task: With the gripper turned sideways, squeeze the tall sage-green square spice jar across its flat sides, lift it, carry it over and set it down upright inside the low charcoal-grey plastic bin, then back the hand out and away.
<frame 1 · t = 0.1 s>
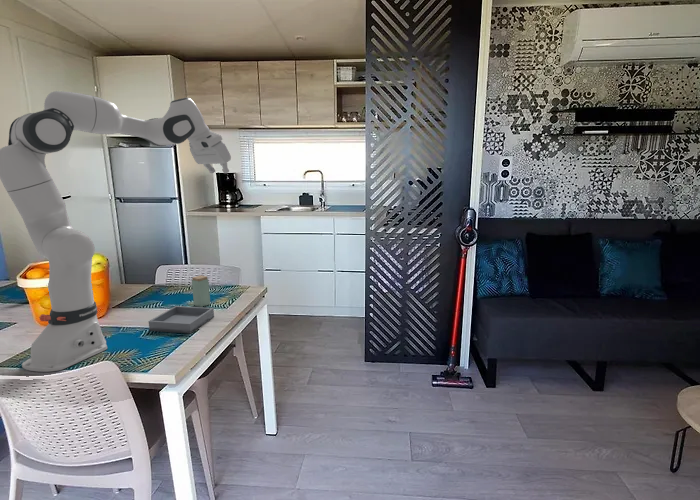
hand: (219, 172, 160), 54 cm above the table, tool tilted 30°, fingers open, 8 cm apart
candy bar: (67, 289, 192), on the table
spice jar: (202, 304, 168), on the table
bin: (183, 323, 148), on the table
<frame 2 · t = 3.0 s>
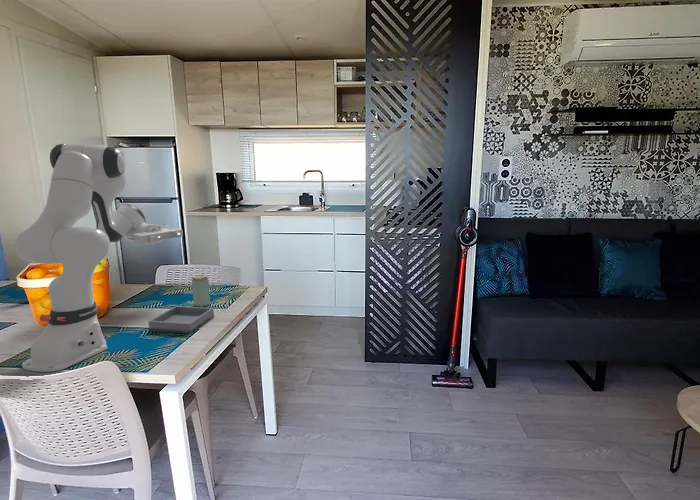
hand: (169, 237, 166), 28 cm above the table, tool horizontal, fingers open, 8 cm apart
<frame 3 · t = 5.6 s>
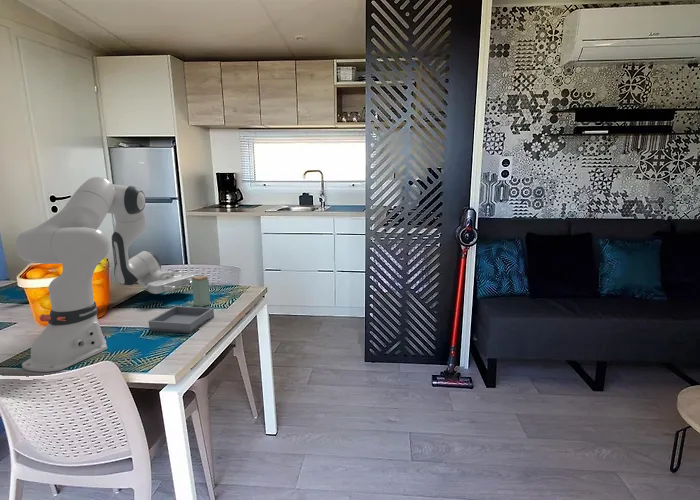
hand: (183, 286, 172), 6 cm above the table, tool horizontal, fingers open, 8 cm apart
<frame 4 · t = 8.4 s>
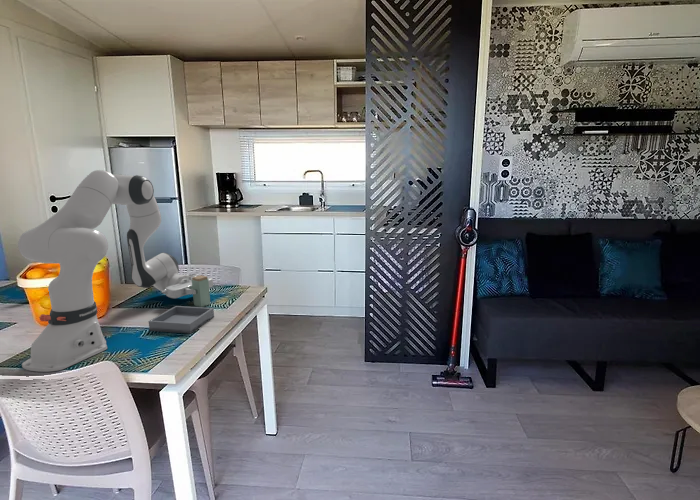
hand: (202, 290, 166), 7 cm above the table, tool horizontal, fingers closed on spice jar, 5 cm apart
spice jar: (202, 304, 168), on the table, touching gripper
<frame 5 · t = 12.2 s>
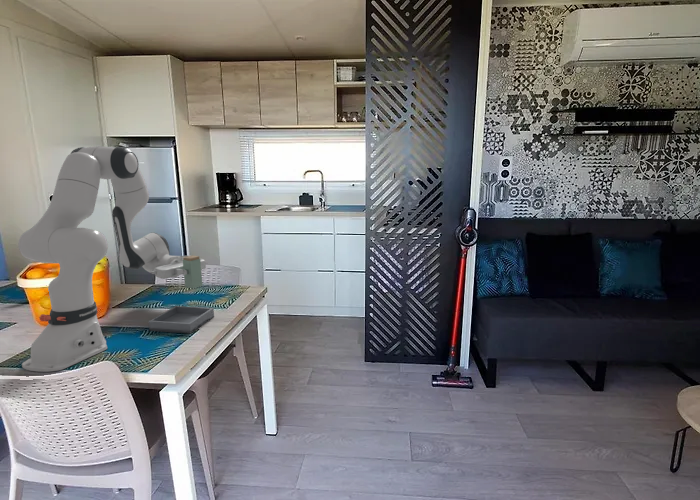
hand: (193, 270, 157), 17 cm above the table, tool horizontal, fingers closed on spice jar, 5 cm apart
spice jar: (193, 286, 159), point 10 cm above the table, touching gripper
when the fingers open (9 cm above the table, at t = 16.1 s): spice jar drops 1 cm, resting on bin.
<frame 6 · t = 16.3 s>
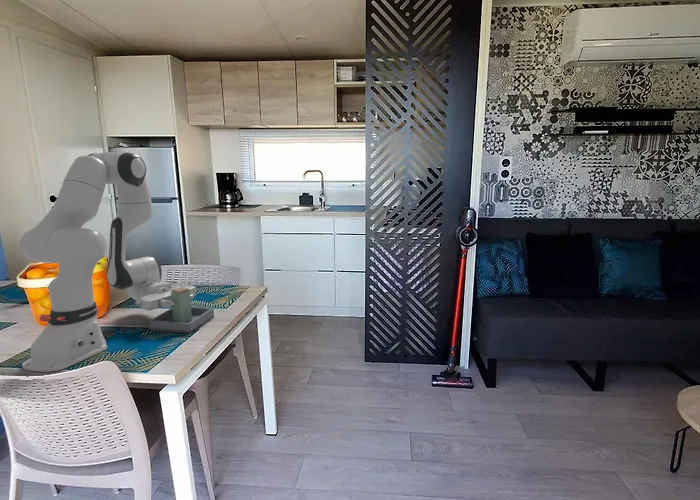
hand: (182, 300, 145), 9 cm above the table, tool horizontal, fingers open, 7 cm apart
spice jar: (182, 320, 147), point 1 cm above the table, touching bin
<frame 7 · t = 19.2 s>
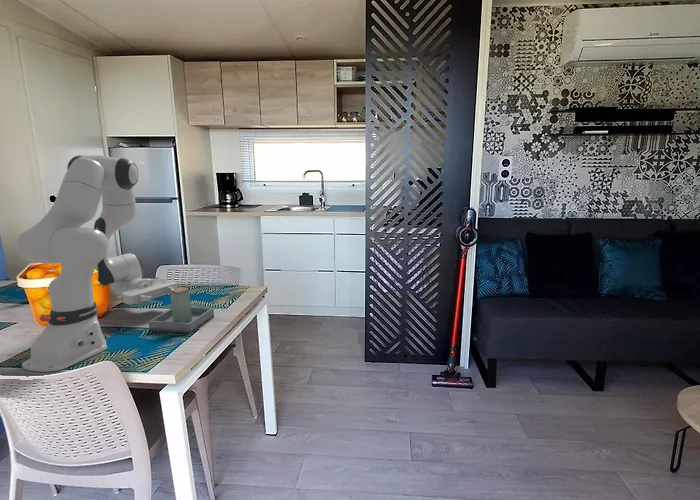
hand: (162, 295, 151), 9 cm above the table, tool horizontal, fingers open, 8 cm apart
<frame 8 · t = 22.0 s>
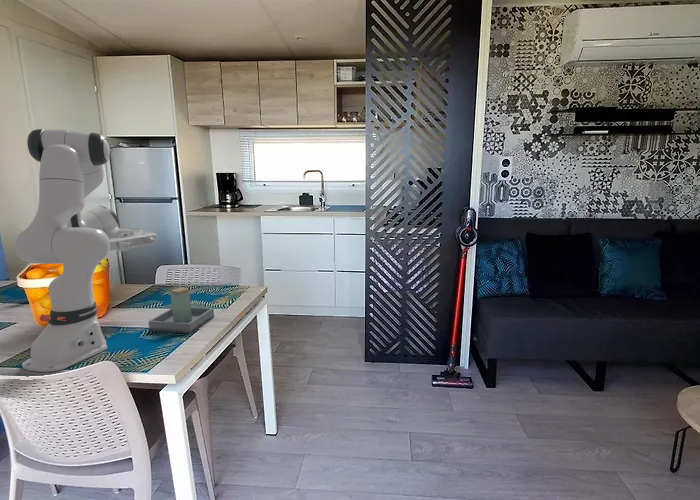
hand: (141, 243, 154), 28 cm above the table, tool horizontal, fingers open, 8 cm apart
at the end: spice jar inside the target area on the bin (0.1 cm from its centre), point 1.0 cm above the bin's base; spice jar tilted 0°; the gripper is holding nothing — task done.
